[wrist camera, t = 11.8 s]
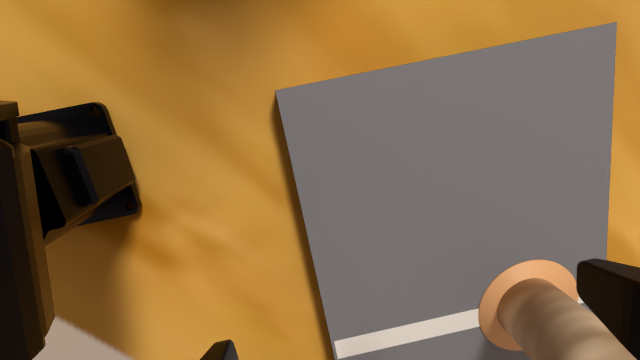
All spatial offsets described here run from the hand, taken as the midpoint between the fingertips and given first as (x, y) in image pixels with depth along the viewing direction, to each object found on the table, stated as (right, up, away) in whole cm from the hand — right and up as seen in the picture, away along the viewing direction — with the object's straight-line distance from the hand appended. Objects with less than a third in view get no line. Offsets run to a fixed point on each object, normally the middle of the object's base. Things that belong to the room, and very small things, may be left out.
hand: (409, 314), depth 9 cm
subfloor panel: (+7, 0, +14) cm, 16 cm away
